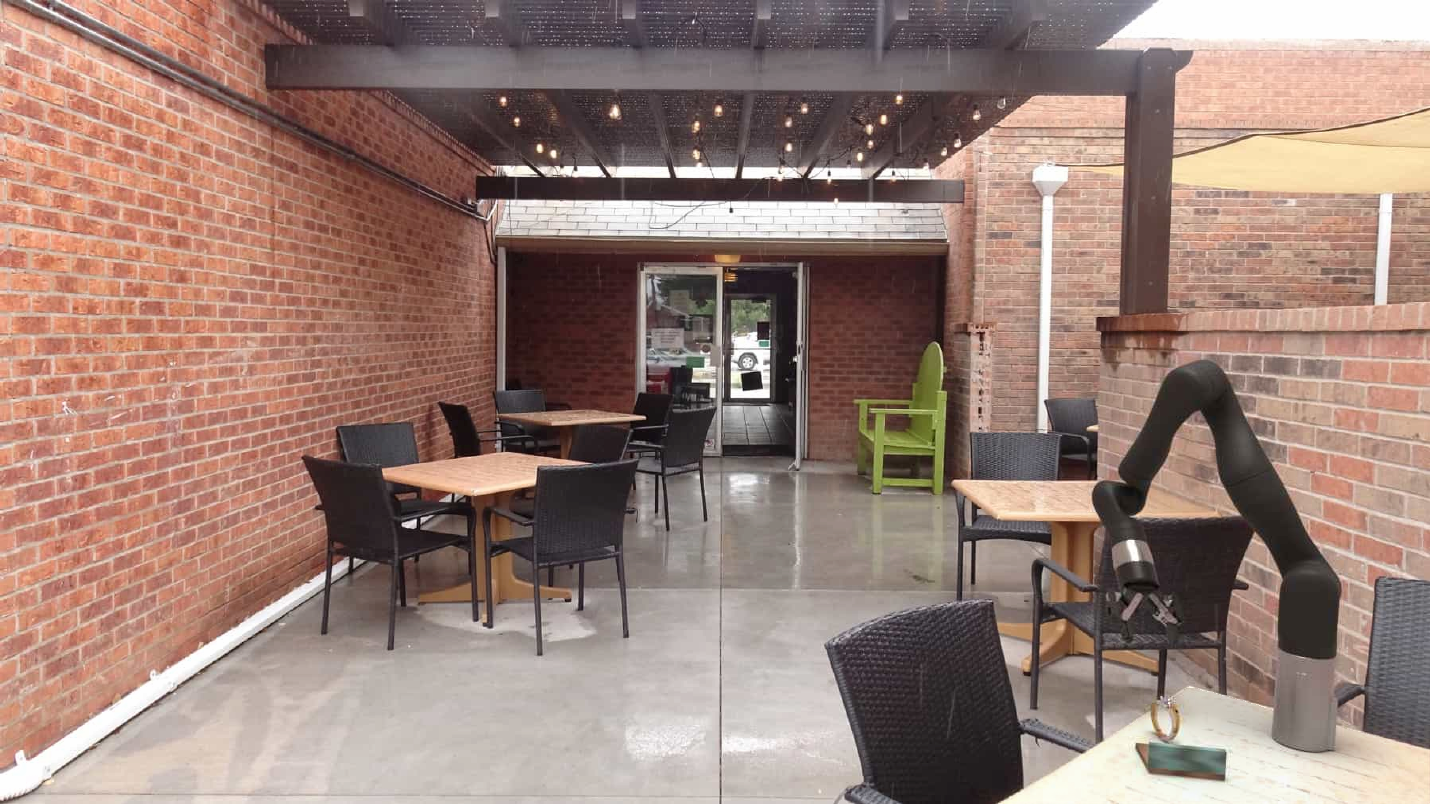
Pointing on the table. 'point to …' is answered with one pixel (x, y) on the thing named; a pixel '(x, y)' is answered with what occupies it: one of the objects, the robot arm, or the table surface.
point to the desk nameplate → (1183, 760)
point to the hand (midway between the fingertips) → (1152, 643)
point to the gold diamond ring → (1173, 713)
